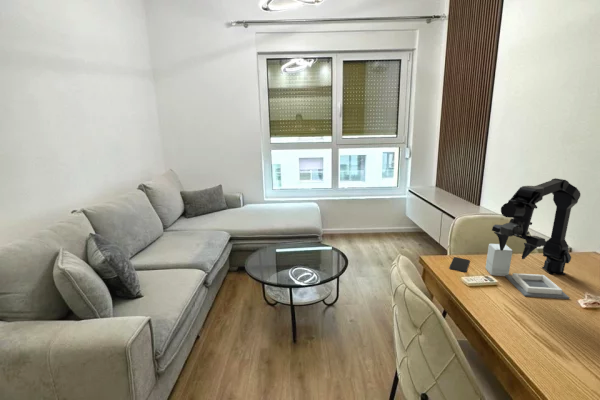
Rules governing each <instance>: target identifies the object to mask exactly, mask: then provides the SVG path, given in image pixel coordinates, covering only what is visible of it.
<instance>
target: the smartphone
mask: <svg viewBox="0 0 600 400" xmlns="http://www.w3.org/2000/svg"><path fill="white" fill-rule="evenodd" d="M470 261H471V260H470V259H466V258H461V257H458V256H457V257H455V256H454V257H453V258H452V261H451V262H450V265H449V266H448V268H449V270H452V271H456V272H461V273H467V272H468V268H469V265H470V263H471V262H470Z"/></svg>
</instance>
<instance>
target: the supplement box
mask: <svg viewBox="0 0 600 400" xmlns="http://www.w3.org/2000/svg"><path fill="white" fill-rule="evenodd" d="M512 256H513V249H512V248H511V247H509V246H508V245H507V244H506V245H505V247H504V249H503V250H502V251H501V250H500V244H499V243H489V244H488V247H487V255H486V263H485V270H486V271H487V272H488V273H489V274H490V275H491V276H498V277H505V276H506V275H509V273H510V270H511V269H510V267H511V263H512Z"/></svg>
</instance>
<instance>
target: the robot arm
mask: <svg viewBox="0 0 600 400" xmlns="http://www.w3.org/2000/svg"><path fill="white" fill-rule="evenodd" d="M550 194H552V195H553V197H552V198H553V199H552V200H553V203H554V205H555V206H556V209H555V213H554V219H553V222H552V223H553V224H552V230H551V234H550V235H551V236H550V238H549V239H547V240H546V238H544V237H540V236H538V235H530V231H529V229H530V228H529V227H530V226H532V224H533V222H532V217H533V214H534V211H535V209H538V206H537V205H536V204H537V203H539V202H541V201H542V200H543V197H544V196H547V195H550ZM580 198H581V192H580V190H579V189H578V188H577V187H576V186H575V185H573V184H571V183H570V182H569V180H566V179H562V178H556V177H555V178H552V179H551V180H549V181H545V182H542V183H540V184H537V185H522V186H520V187H519V188H518V189H517V190H516V192H515V193H514V194H513V195H512V197H511V198H510V199H508V202H506V203H504V204H503V205H502V206H501V208H500V212H501V215H502V216H503V217H504V218H510V220H509V222H506V223H503V224H494V225H493V226H492V228H491V231H493V233H494V234H495V235H496V236H497V238H498V244H500V250H501V251H502V250H503V249H504V247H505V245H507V242H508V239H509V237H513V236H514V237H516V238H519V239H522V240H525V242H523V244H524V248H523V250H522V251H523V252H522V255H521V260H525V259H526V258H527V257H528V256H529V255H530V254H531V253H532V252H533V251H534V250H536V249H537V248H541V247H542V257H544V258H546V259H545V260H544V265H543V266H541V267H542V269H543V270H544V271H546V272H547V273H548V274H550V275H563V276H566V275H567V273H566V272H564V271H565V267H566V264H570V262H571V260H572V256H571V254H570V252H569V244H568V243H567V241H566V236H567V231H568V226H569V222H570V221H569V220H570V215H571V212H572V208H573V207H574V206H575V205H577V204H578V201H579V199H580Z"/></svg>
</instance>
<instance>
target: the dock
mask: <svg viewBox="0 0 600 400" xmlns="http://www.w3.org/2000/svg"><path fill="white" fill-rule="evenodd" d="M504 277H505V278H506V279H507V280H508V281H509V282H510V283H511V284H512V285H513V286H514V287H515V288H516V289H517V291H519V292H520V293H521V295H522V296H524V297H532V298H546V299H561V300H569V299H570V296H569V295H567V294H566V293H565V292H564V291H563V289H562V288H561V287H560V286H559V285H557V284H556V283H555V282H553V281H552V280H551V279H550V278H549V277H547V276H546V275H544V274H537V273H536V274H534V273H533V274H532V273H517V272H514V273H512V274H510V275H506V276H504Z"/></svg>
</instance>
